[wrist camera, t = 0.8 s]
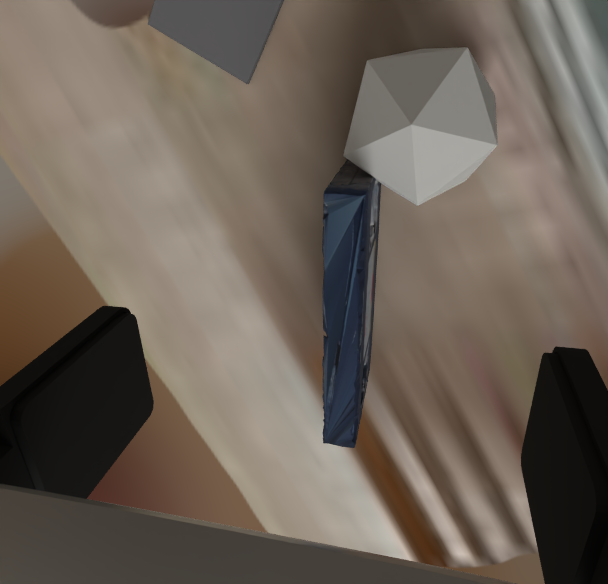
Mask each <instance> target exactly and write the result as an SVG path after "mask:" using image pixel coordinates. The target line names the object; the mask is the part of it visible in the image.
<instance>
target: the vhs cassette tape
mask: <svg viewBox="0 0 608 584" xmlns="http://www.w3.org/2000/svg"><path fill="white" fill-rule="evenodd" d="M380 193H381V183H380V182H378V181H377V180H376V179H375V178H374V177H373V176H372V175H370V174H368V173H367V172H365V171H363V170H362V169H361V168H359V167H358V166H356V165H355V164H354V163H352V162H351V161H350V160H348V159H347V161H346V162H345V164H344V165H343V166H342V167H341V168H340V171H339V172H338V173H337V174H336V176H335V177H334V179H333V180H332V182H331V183H330V185H328V187H327V188H326V190H325V191H324V209H323V211H324V216H323V223H324V227H323V247H322V251H323V257H324V280H323V329H324V331H325V332H326V334H327V337H326V336H324V357H323V363H322V366H323V392H324V393H323V402H324V406H323V409H324V418H325V419H324V420H323V421H324V429H323V443H329V444H333V445H338V446H342V447H350V448H354V447H355V444H356V440H357V434H358V429H359V424H360V419H361V414H362V408H363V402H364V397H365V393H366V387H367V382H368V375H369V370H370V358H371V346H372V330H373V316H374V298H375V283H376V265H377V250H378V233H379V211H380Z"/></svg>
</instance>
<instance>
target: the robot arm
mask: <svg viewBox="0 0 608 584" xmlns="http://www.w3.org/2000/svg"><path fill="white" fill-rule="evenodd" d="M152 410H153V396H152V392H151V387H150V382H149V377H148V372H147V367H146V363H145V358H144V353H143V348H142V343H141V338H140V334H139V329H138V324H137V320H136V317H135V316H134V315H133V314H131V312H130V311H129V309H127V308H124V307H113V306H102V307H101V308H99V309H98V310H96V311H95V312H94V313H93V314H91V315H90V316H89V317H88V318H86V319H85V320H84V321H83V322H81V323H80V324H79V325H78V326H76V327H75V328H74V329H73V330H71V331H70V332H69V333H67V334H66V335H65V336H63V337H62V338H61V339H60V340H58V341H57V342H56V343H55V344H53V345H52V346H51V347H50V348H48V349H47V350H46V351H44V352H43V353H42V354H41V355H39V356H38V357H37V358H36V359H34V360H33V361H32V362H31V363H29V364H28V365H27V366H25V367H24V368H23V369H22V370H20V371H19V372H18V373H17V374H15V375H14V376H13V377H12V378H10V379H9V380H8V381H6V382H5V383H4V384H3V385H1V386H0V584H516V583H512V582H508V581H503V580H499V579H494V578H489V577H484V576H480V575H475V574H471V573H466V572H461V571H456V570H452V569H447V568H442V567H437V566H433V565H428V564H423V563H419V562H414V561H409V560H404V559H399V558H393V557H388V556H383V555H378V554H373V553H368V552H363V551H358V550H352V549H347V548H342V547H337V546H332V545H327V544H322V543H317V542H312V541H306V540H301V539H296V538H291V537H286V536H281V535H276V534H270V533H265V532H260V531H255V530H249V529H244V528H239V527H233V526H228V525H223V524H217V523H212V522H207V521H202V520H197V519H191V518H186V517H181V516H175V515H170V514H165V513H159V512H154V511H149V510H144V509H138V508H133V507H127V506H121V505H116V504H110V503H105V502H100V501H94V500H89V499H87V497H88V496H89V495H90V494H91V492H92V491H93V490H94V488H95V487H96V486H97V484H98V483H99V482H100V480H101V479H102V478H103V477H104V475H105V474H106V473H107V471H108V470H109V469H110V467H111V466H112V465H113V463H114V462H115V461H116V460H117V458H118V457H119V456H120V454H121V453H122V452H123V450H124V449H125V448H126V446H127V445H128V444H129V443H130V441H131V440H132V439H133V437H134V436H135V435H136V433H137V432H138V431H139V430H140V428H141V427H142V426H143V424H144V423H145V422H146V420H147V419H148V418H149V416H150V415H151V413H152ZM521 467H522V473H523V478H524V483H525V488H526V493H527V498H528V502H529V507H530V512H531V517H532V522H533V527H534V532H535V537H536V542H537V547H538V552H539V557H540V562H541V567H542V571H543V576H544V581H545V584H608V390H607V388H606V386H605V384H604V382H603V380H602V378H601V376H600V374H599V372H598V370H597V368H596V366H595V364H594V362H593V360H592V358H591V356H590V354H589V352H588V351H587V350H586V349H577V348H566V347H555V348H554V350H553V352H552V353H544V354H543V356H542V359H541V364H540V368H539V373H538V378H537V382H536V387H535V392H534V396H533V401H532V406H531V410H530V415H529V420H528V424H527V429H526V434H525V438H524V443H523V448H522V453H521Z"/></svg>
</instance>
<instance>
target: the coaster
mask: <svg viewBox="0 0 608 584" xmlns="http://www.w3.org/2000/svg"><path fill="white" fill-rule="evenodd" d="M283 1H284V0H155V1H154V4H153V8H152V11H151V14H150V18H149V21H148V25H150V26H152V27H153V28H155V29H157V30H158V31H160V32H162V33H163V34H165V35H167V36H168V37H170V38H172V39H173V40H175V41H177V42H178V43H180V44H182V45H183V46H185V47H187V48H188V49H190V50H192V51H193V52H195V53H196V54H198V55H200V56H201V57H203V58H205V59H206V60H208V61H210V62H211V63H213V64H215V65H216V66H218V67H220V68H221V69H223V70H225V71H226V72H228V73H230V74H231V75H233V76H235V77H236V78H238V79H240V80H241V81H243V82H245V83H246V84H249V82H250V80H251V78H252V75H253V73H254V71H255V68H256V66H257V63H258V61H259V59H260V56H261V54H262V51H263V49H264V47H265V44H266V42H267V39H268V37H269V35H270V32H271V30H272V28H273V25H274V23H275V20H276V18H277V16H278V13H279V11H280V8H281V6H282V4H283Z"/></svg>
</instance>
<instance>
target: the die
mask: <svg viewBox="0 0 608 584" xmlns="http://www.w3.org/2000/svg"><path fill="white" fill-rule="evenodd" d="M496 146H497V124H496V103H495V94H494V92H493V91H492V89H491V87H490V86H489V84H488V82H487V80H486V79H485V77H484V75H483V73H482V72H481V70H480V68H479V66H478V65H477V63H476V61H475V59H474V58H473V56H472V54H471V53H470V51H469V49H468V47H461V48H426V49H418V50H413V51H409V52H404V53H399V54H394V55H389V56H385V57H380V58H375V59H370V60H367V63H366V67H365V71H364V75H363V79H362V83H361V87H360V91H359V95H358V99H357V103H356V107H355V111H354V115H353V119H352V123H351V127H350V131H349V135H348V139H347V143H346V147H345V151H344V155H343V156H344V157H345V158H347V159H348V160H350V161H351V162H352V163H354V164H355V165H356V166H358V167H359V168H361V169H362V170H363V171H365V172H367V173H368V174H370V175H372V176H373V177H374V178H375V179H376V180H377V181H378V182H380V183H381V184H383V185H384V186H386V187H387V188H389V189H391V190H392V191H394V192H396V193H397V194H399V195H400V196H402V197H404V198H405V199H407V200H409V201H410V202H412V203H414V204H415V205H417V206H418V205H420V204H422V203H424V202H426V201H428V200H430V199H432V198H433V197H435V196H437V195H439V194H441V193H443V192H445V191H447V190H449V189H451V188H453V187H455V186H457V185H459V184H461V183H463V182H465V181H466V180H467V179H468V178H469V176H470V175H471V174H472V173H473V172H474V171H475V170H476V169H477V168H478V166H479V165H480V164H481V163H482V162H483V161H484V160H485V159H486V158H487V156H488V155H489V154H490V153H491V152H492V151H493V150H494V149H495V147H496Z"/></svg>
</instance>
